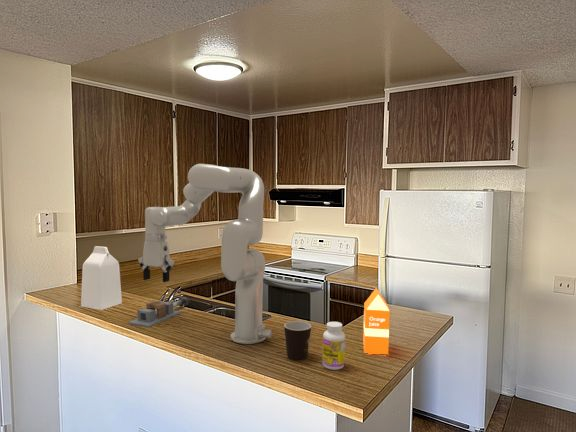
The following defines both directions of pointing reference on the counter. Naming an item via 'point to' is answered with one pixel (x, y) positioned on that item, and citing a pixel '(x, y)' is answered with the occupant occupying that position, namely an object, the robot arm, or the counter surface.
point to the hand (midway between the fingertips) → (156, 280)
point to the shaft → (181, 302)
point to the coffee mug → (297, 339)
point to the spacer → (159, 306)
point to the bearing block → (153, 316)
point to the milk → (100, 280)
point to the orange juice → (376, 324)
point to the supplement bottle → (333, 346)
